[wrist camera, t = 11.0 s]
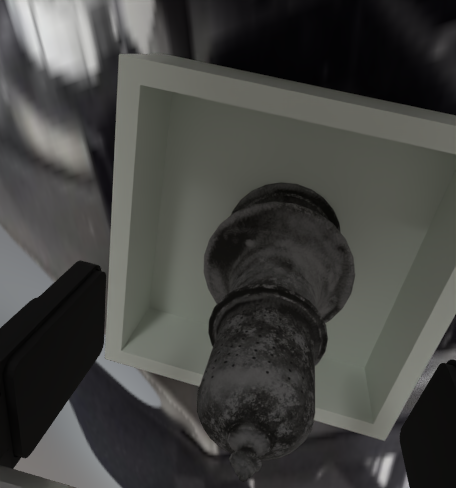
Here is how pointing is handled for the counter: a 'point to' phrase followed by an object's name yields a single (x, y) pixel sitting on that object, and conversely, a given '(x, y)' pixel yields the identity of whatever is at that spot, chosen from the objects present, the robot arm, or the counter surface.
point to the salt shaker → (270, 320)
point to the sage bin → (269, 172)
